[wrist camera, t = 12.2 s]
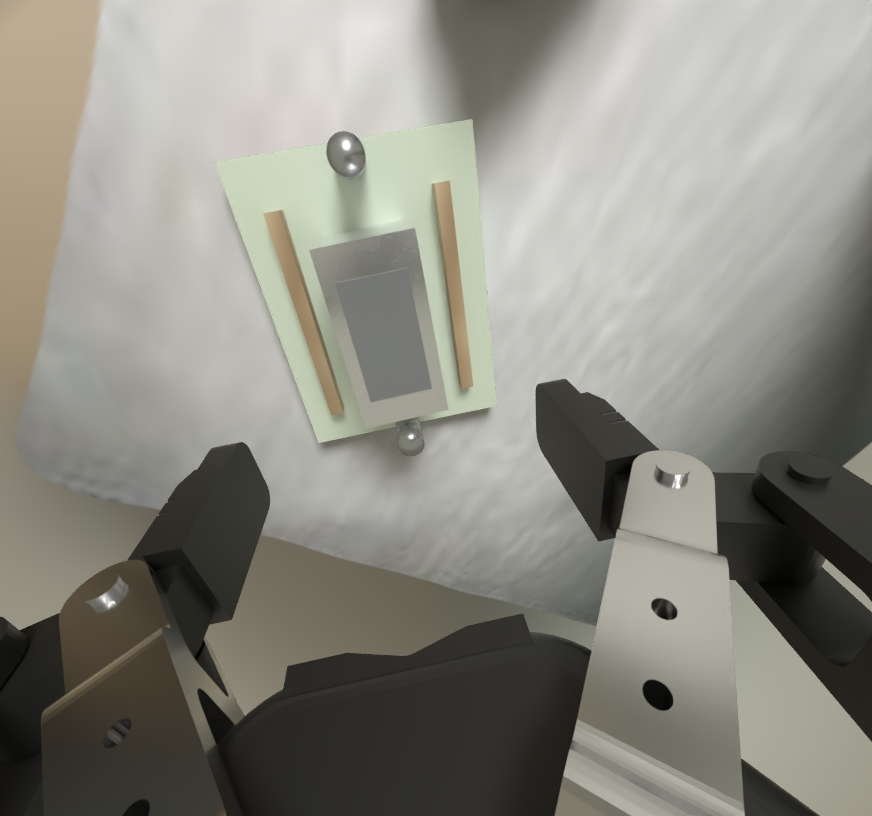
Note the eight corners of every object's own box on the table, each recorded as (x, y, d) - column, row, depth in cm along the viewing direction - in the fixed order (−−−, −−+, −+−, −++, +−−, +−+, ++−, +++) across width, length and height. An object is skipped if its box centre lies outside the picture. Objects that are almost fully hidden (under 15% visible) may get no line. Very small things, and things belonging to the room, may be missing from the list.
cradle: (466, 123, 21) (494, 103, 16) (491, 396, 29) (514, 435, 25) (223, 164, 20) (179, 155, 16) (320, 431, 29) (310, 479, 24)
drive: (404, 219, 21) (415, 227, 16) (433, 366, 26) (448, 410, 21) (324, 235, 21) (308, 250, 16) (366, 381, 26) (365, 429, 20)
